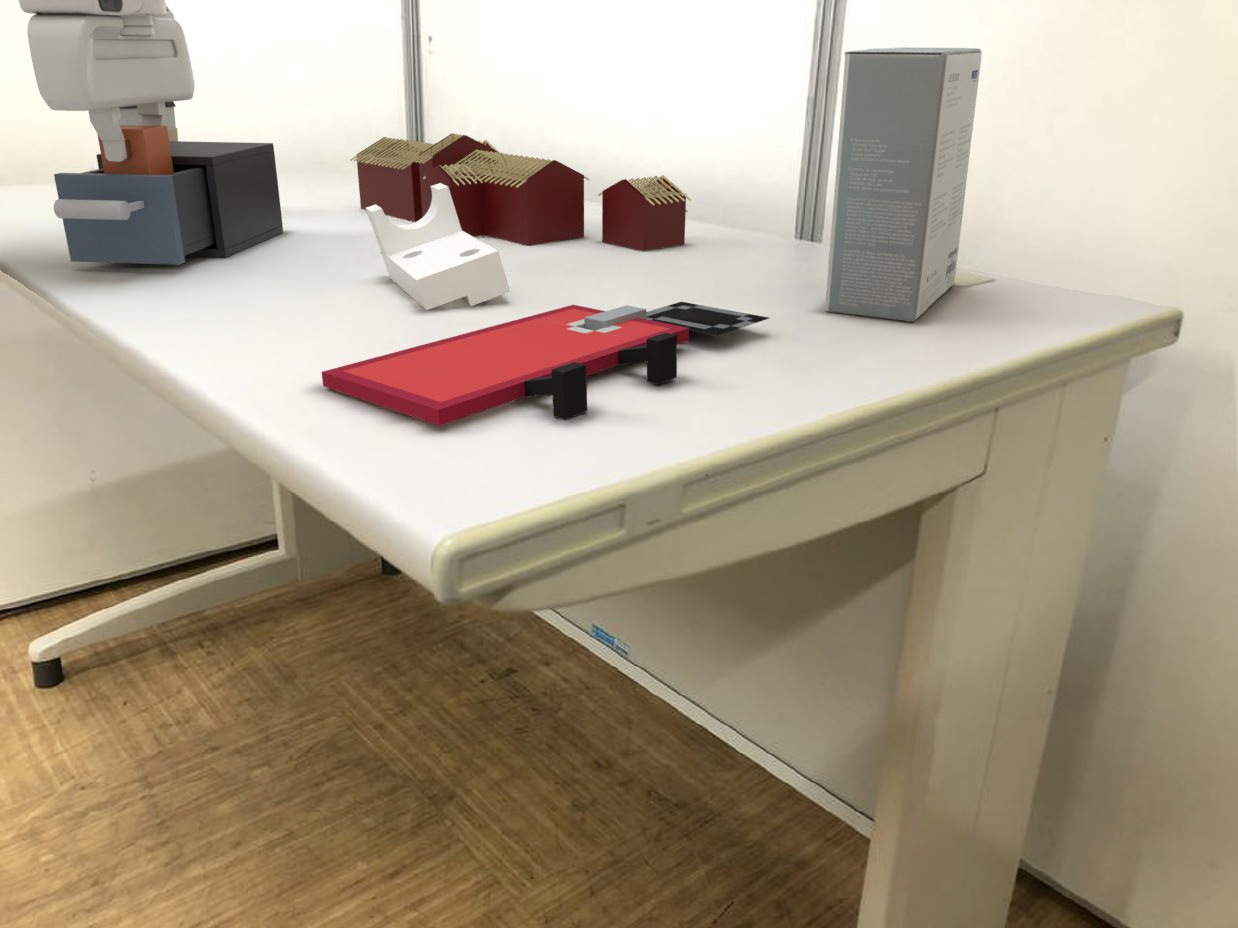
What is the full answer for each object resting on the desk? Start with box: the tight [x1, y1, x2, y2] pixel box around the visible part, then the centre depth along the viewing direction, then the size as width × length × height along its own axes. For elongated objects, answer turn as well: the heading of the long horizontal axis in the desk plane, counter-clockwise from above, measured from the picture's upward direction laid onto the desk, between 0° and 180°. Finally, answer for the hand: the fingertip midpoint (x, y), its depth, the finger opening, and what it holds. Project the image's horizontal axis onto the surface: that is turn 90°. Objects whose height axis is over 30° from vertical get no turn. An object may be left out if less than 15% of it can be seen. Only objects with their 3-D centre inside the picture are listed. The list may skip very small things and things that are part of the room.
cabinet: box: [96, 140, 284, 259], centre depth 106 cm, size 15×12×10 cm
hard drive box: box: [824, 46, 983, 322], centre depth 84 cm, size 16×8×20 cm, turn 152°
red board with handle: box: [321, 301, 770, 427], centre depth 69 cm, size 30×3×15 cm
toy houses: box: [349, 133, 692, 252], centre depth 118 cm, size 45×21×10 cm, turn 42°
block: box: [97, 125, 174, 175], centre depth 95 cm, size 4×4×4 cm
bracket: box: [365, 183, 511, 311], centre depth 87 cm, size 13×7×8 cm, turn 24°
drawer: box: [53, 165, 216, 266], centre depth 97 cm, size 18×10×8 cm, turn 175°
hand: (136, 157), depth 95 cm, fingers closed on block, 4 cm apart
